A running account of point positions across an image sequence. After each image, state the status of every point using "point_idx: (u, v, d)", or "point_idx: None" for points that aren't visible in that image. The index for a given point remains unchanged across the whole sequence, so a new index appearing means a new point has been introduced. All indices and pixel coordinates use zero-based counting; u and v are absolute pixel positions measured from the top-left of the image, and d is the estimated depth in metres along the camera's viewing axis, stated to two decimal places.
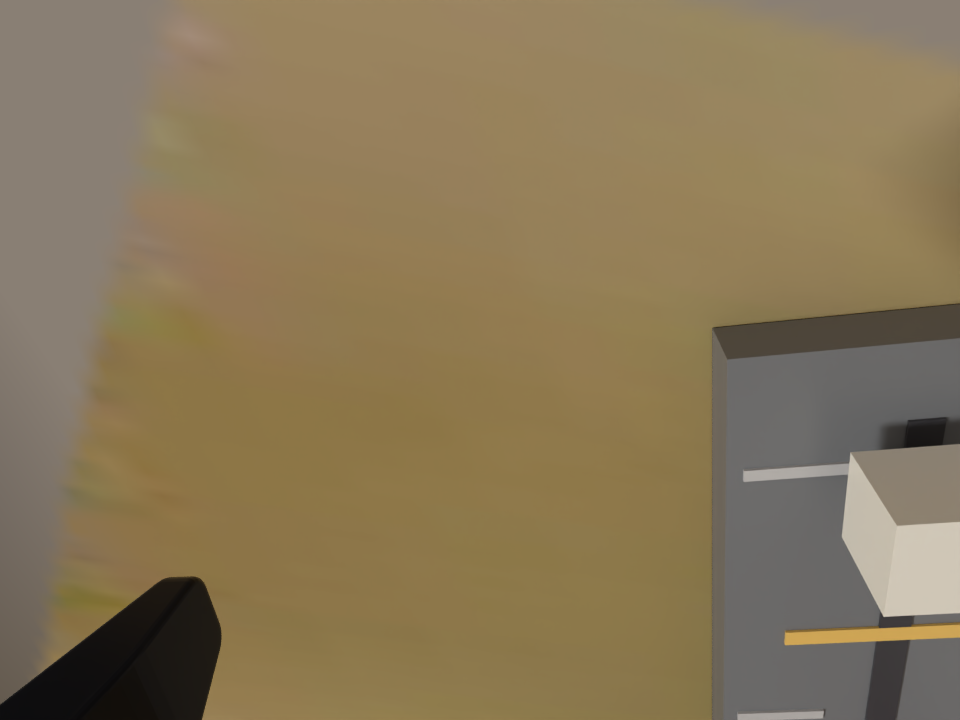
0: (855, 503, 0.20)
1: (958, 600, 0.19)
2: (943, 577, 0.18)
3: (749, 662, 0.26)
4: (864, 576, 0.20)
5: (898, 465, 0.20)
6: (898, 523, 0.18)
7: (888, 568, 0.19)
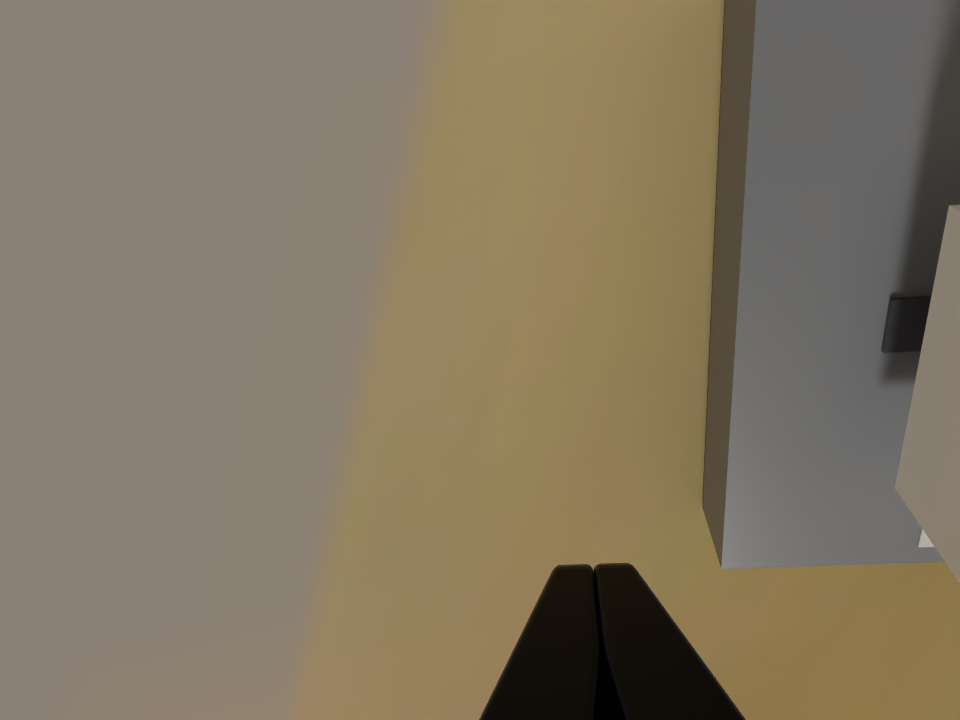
0: None
1: None
2: None
3: None
4: None
5: (923, 468, 0.12)
6: None
7: None
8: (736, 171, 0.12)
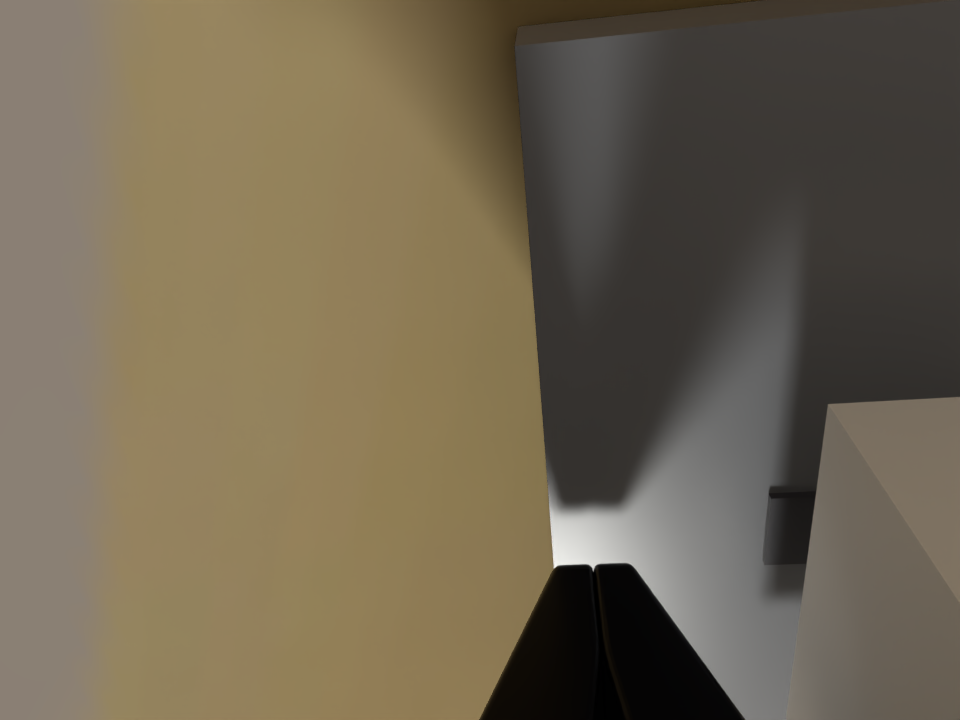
0: None
1: None
2: None
3: None
4: None
5: None
6: None
7: None
8: None
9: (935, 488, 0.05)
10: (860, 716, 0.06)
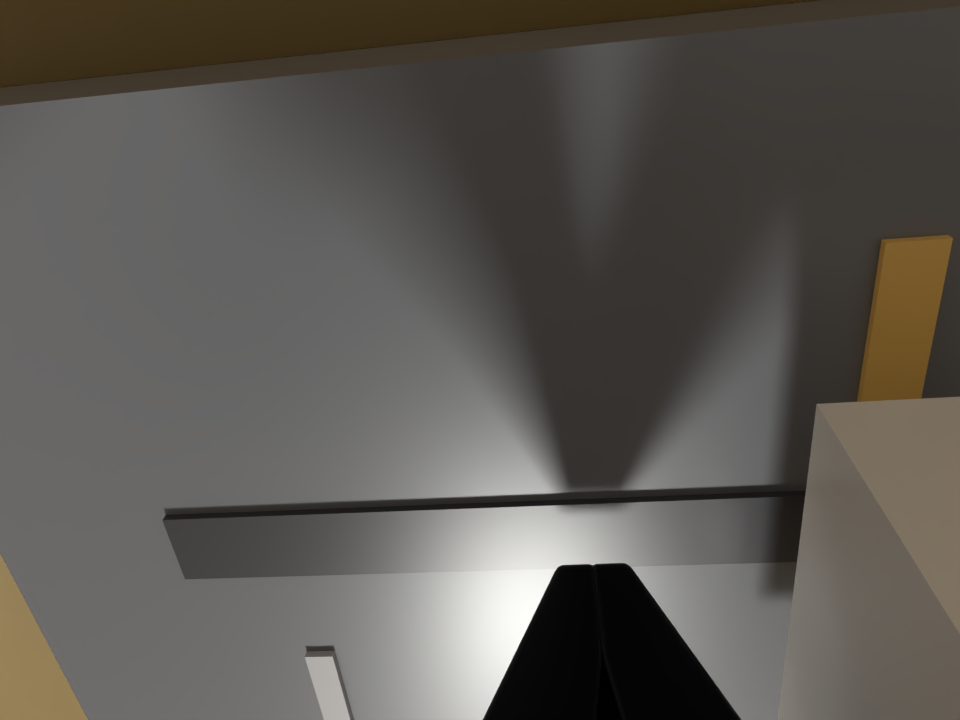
0: None
1: None
2: None
3: None
4: None
5: None
6: None
7: None
8: None
9: (917, 486, 0.06)
10: (846, 707, 0.06)
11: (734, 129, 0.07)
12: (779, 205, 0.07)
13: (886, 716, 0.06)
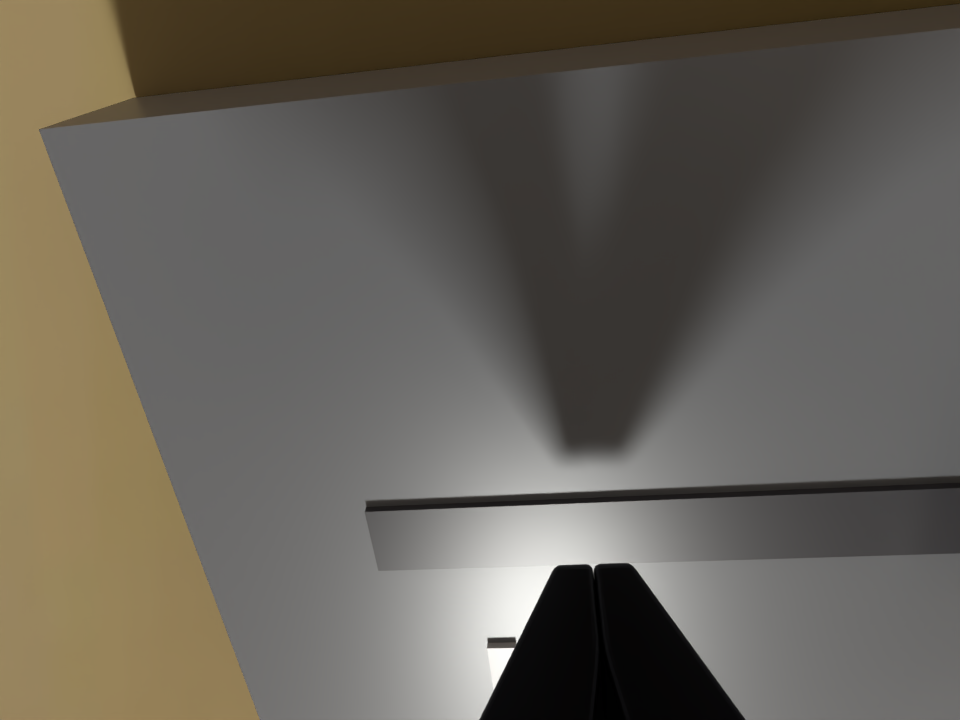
0: None
1: None
2: None
3: None
4: None
5: None
6: None
7: None
8: None
9: None
10: None
11: None
12: None
13: None
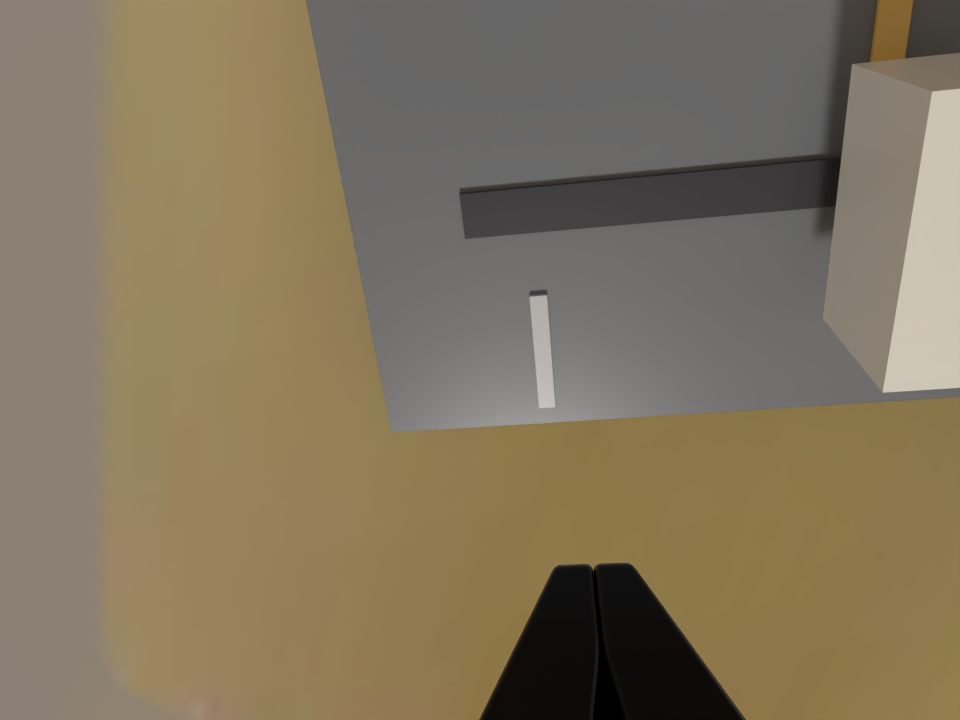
0: None
1: None
2: None
3: None
4: None
5: (840, 290, 0.15)
6: (881, 387, 0.13)
7: None
8: None
9: (902, 71, 0.12)
10: (869, 204, 0.13)
11: None
12: None
13: (888, 174, 0.12)
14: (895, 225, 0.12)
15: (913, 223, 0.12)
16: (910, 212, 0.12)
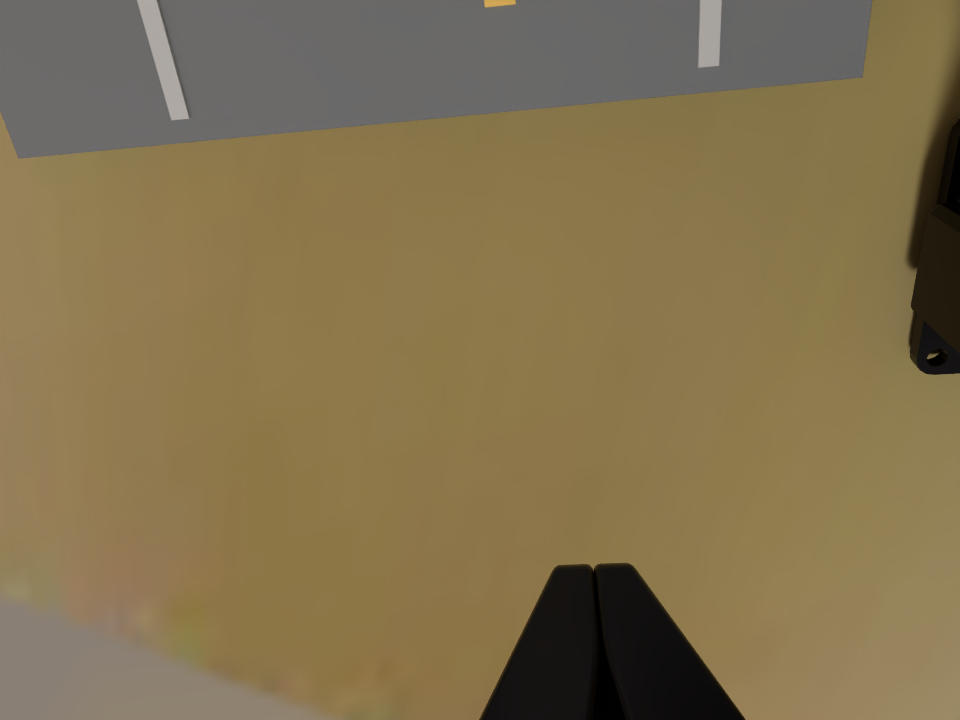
0: None
1: None
2: None
3: (565, 61, 0.15)
4: None
5: None
6: None
7: None
8: None
9: None
10: None
11: None
12: None
13: None
14: None
15: None
16: None
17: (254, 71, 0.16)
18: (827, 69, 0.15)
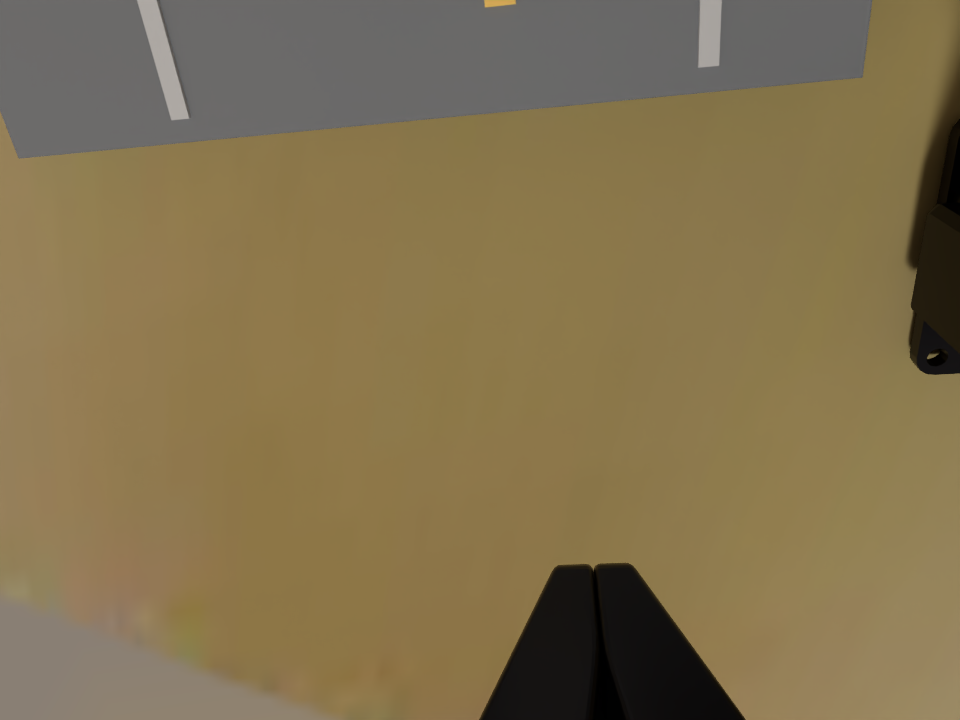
0: None
1: None
2: None
3: (565, 61, 0.15)
4: None
5: None
6: None
7: None
8: None
9: None
10: None
11: None
12: None
13: None
14: None
15: None
16: None
17: (254, 71, 0.16)
18: (827, 69, 0.15)
